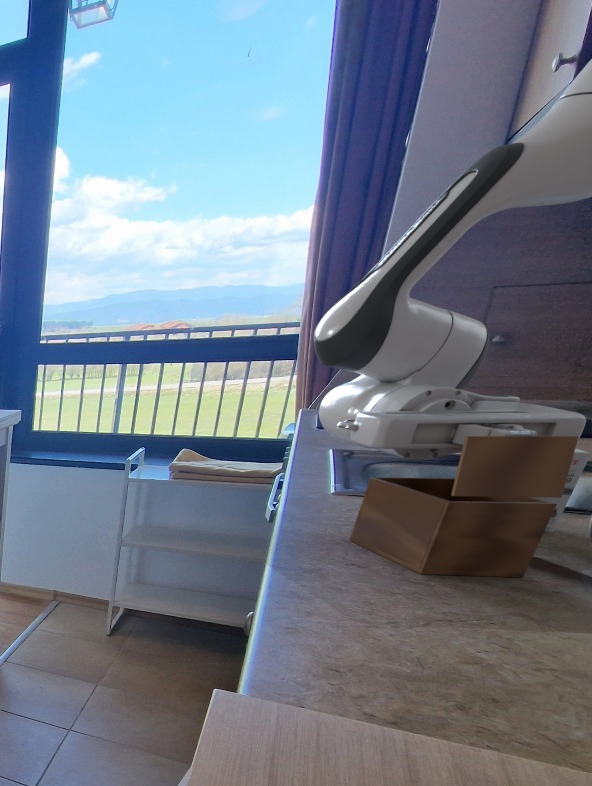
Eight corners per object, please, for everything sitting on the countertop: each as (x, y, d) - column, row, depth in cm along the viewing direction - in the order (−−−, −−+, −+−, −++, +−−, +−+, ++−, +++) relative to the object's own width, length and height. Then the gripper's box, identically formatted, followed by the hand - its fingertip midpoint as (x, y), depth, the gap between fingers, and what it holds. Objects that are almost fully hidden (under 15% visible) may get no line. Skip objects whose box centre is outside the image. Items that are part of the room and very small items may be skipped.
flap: (575, 436, 65) (579, 436, 65) (557, 497, 67) (561, 497, 66) (465, 436, 67) (468, 436, 67) (450, 496, 68) (453, 496, 68)
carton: (435, 542, 82) (460, 477, 79) (523, 577, 70) (557, 503, 67) (348, 540, 84) (370, 477, 80) (420, 574, 72) (449, 502, 69)
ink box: (463, 538, 83) (500, 448, 79) (444, 527, 87) (478, 442, 83) (550, 543, 80) (594, 451, 76) (526, 532, 84) (566, 444, 80)
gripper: (336, 398, 79) (416, 410, 67) (526, 395, 76) (648, 407, 63) (321, 448, 82) (396, 469, 69) (504, 447, 78) (618, 469, 66)
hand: (518, 439), depth 66 cm, fingers closed
